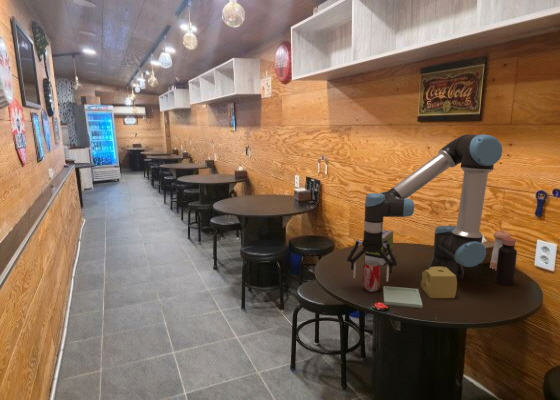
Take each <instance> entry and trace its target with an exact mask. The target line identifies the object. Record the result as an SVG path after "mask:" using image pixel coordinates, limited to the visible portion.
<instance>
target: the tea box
mask: <svg viewBox="0 0 560 400" xmlns="http://www.w3.org/2000/svg"><path fill="white" fill-rule="evenodd" d="M387 242H389V244H390V249H391V251H392V254H393V253H394V231H393V230H389V229H383V230H382V243H387ZM381 250H382V251H383V253H384V254H385V255H386V256H387V257H388V259H389V260H391V257H390V255H389V253H388V251H387V248H385V247H384V246H383V247H382V248H381ZM393 255H394V254H393ZM369 260H372V261H377V262H378V263H379V266H384V265H385V264H386V263H387V262H386V261H385V260H384V259H383V257H382V256H381V255H380V254H379V253H378V252H376V253H373V252H367V251H366V252H365V253H364V263H365V262H366V261H369Z"/></svg>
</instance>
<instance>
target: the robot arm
mask: <svg viewBox="0 0 560 400" xmlns="http://www.w3.org/2000/svg"><path fill="white" fill-rule="evenodd" d="M437 152H438V153H437V154H436V155H434V156H433V157H432V158H431V159H429V160H428V161H427V162H426V163H424V164H423V165H421V166H420V167H418V168H416V170H415V171H413V172H412V173H411V174H409V175H408V176H407V177H405V178H404V179H402V180H401V181H400V182H398V183H397V184H396V185H394V186H393V187H392V188H390V189H388V190H387V191H382V192H380V193H376V192H371V193H368V194H366V195H365V201H364V202H365V203H364V221H363V229H364V230H363V240H362V241H361V240H359V239H355V245H353V248H352V249H351V251H350V252H349V255H348V256H347V259H346V260H347V262H348V263H350V270H352V271H353V273H352V274H353V277H352V278H353V279H356V271H357V260H359V259H360V257H362V256H363V255H365V252H366V251H367V252H373V253H376V252H378V253H379V254H380V255H381V256H382V257H383V259H384V260H385V261H386V263H387V264H386V273H385V274H386V275H385V280H386V281H385V282H389V278H390V277H389V275H390V274H392V271H393V270H392V269H393V267H394V266H397V264H398V262H397V260H396V258H395V256H394V254H392V251H391V249H390V244H389V242H387V243H382V230H384V218H393V217H394V218H408V217H412V216H413V214H414V213H415V204H414V201H413V199H411V198H410V196H412V195H414V194H415V193H416V192H418V191H419V190H420V189H422V188H423V187H424V186H426V185H427V184H429V183H430V182H432V180H434V179H435V178H437V177H439V175H441V174H443V173H444V172H445V171H447V170H448V169H449V168H454V167H456V166H457V165H460V169H461V170H462V171H463V178H462V184H461V193H460V198H459V199H460V200H459V204H458V205H459V207H458V214H457V221H456V225H439V226H436V227H435V229H434V230H435V231H434V234H433V235H434V240H433V254H432V255H433V256H432V258H431V261H430V263H429V265H428V266H427V267H428V268H427V270H429V268H430V267H447V268H448V269H449V270H450V271H451V272H452V273H453V274H455V275H456V278H457V281H458V280H462V279H463V278H464V276H465V275H464V274H465V271H464V268H463V267H465V268H472V267H476V266H479V264H481V263H482V262H483V261H484V260H485V258H486V255H487V249H486V246H485V245H484V243H483V235H484V234H483V233H482V232H480V231H481V230H480V228H481V222H482V215H483V209H484V203H485V197H486V188H487V182H488V176H489V174H490V172H492V171H493V170H494V166H495V164H497V163H498V161H500V159H502V158H501V157H502V155H503V146H502V143H501V142H500V140H499V139H497V138H496V137H495V136H492V135H489V134H473V133H472V134H469V133H467V134H462V135H460V136H458V137H456V138H454V139H453V140H451V141H450V142H449V143H447V144H446V145H444V146H443V147H441V149H439V150H438V151H437ZM361 246H362V248H361V250H360V251H359V252H357V253H356V251H357V250H358V248H359V247H361ZM383 246H384V247H385V248H387V251H388V253H389V255H390V257H391V258H390V259H388V257H387V256H386V255H385V254H384V253H383V251H382V250H381V248H382V247H383ZM355 253H356V254H355ZM354 255H355V256H354ZM461 278H462V279H461Z"/></svg>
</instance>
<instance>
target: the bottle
mask: <svg viewBox="0 0 560 400" xmlns="http://www.w3.org/2000/svg"><path fill="white" fill-rule="evenodd" d="M516 241H517V240H516V239H515V238H512V237H511V238H502V245H503V246H502V247H500V248H499V251H498V260H497V269H496V270H495V278H494V279H495V280H494V281H495V282H496V283H498V284H499V285H502V286H512V285H514V281H515V272H516V271H515V270H516V265H517V263H516V262H517V254H518V251H517V250H516V248H515V246H516Z"/></svg>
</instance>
